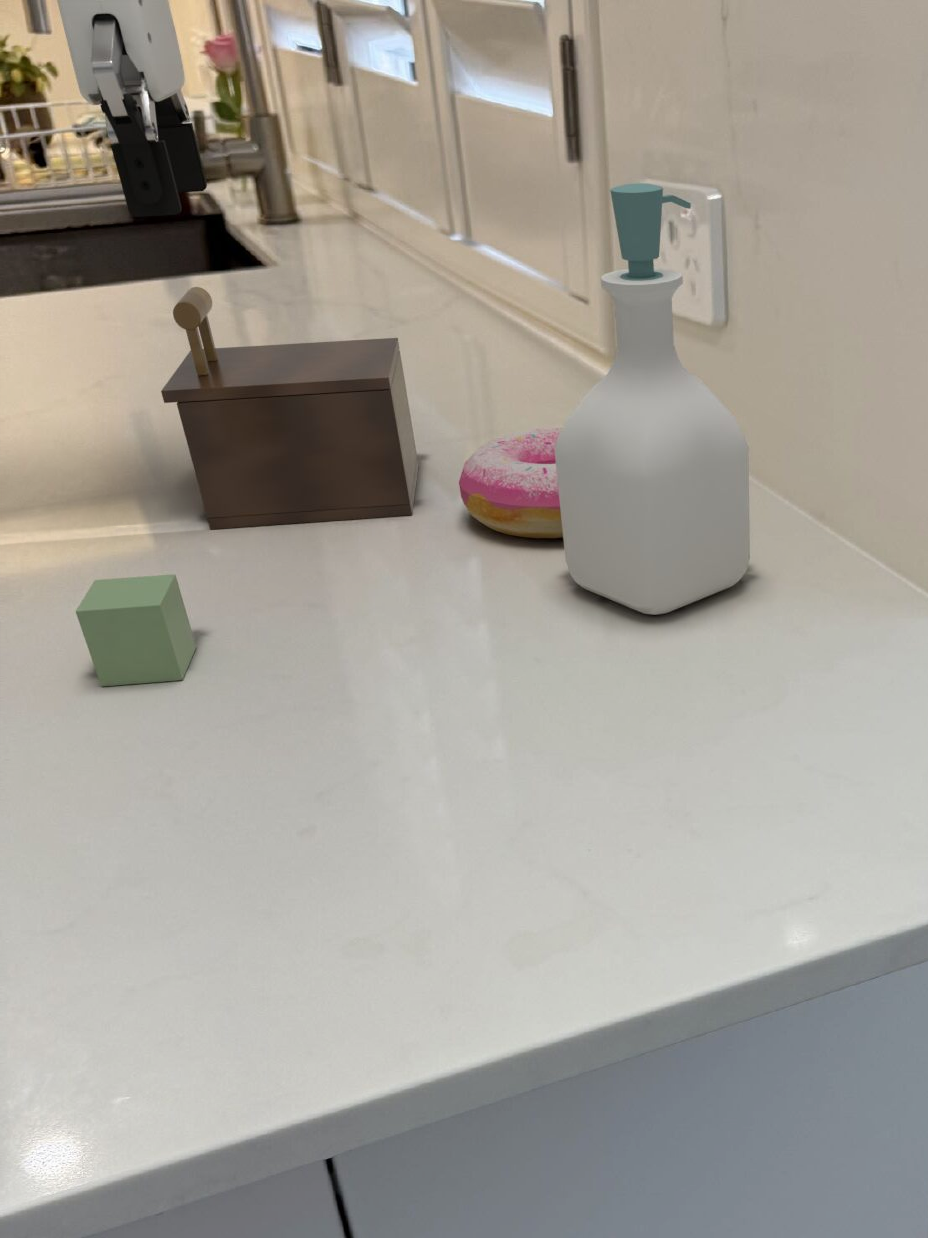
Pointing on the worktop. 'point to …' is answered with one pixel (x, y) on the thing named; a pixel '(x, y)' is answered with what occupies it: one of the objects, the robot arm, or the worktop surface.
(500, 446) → the donut
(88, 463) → the worktop surface
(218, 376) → the lid
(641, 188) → the soap bottle
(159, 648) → the block
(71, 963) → the worktop surface
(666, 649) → the worktop surface
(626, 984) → the worktop surface
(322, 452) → the tea box
